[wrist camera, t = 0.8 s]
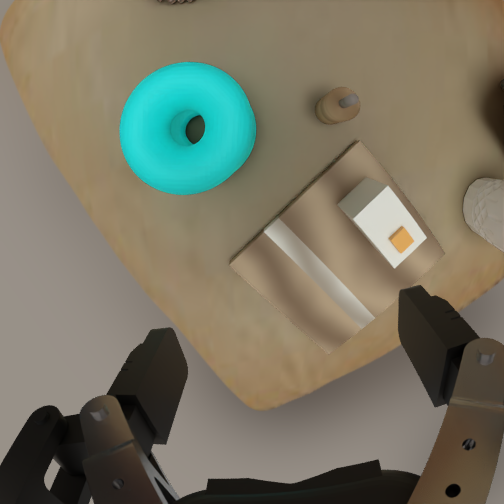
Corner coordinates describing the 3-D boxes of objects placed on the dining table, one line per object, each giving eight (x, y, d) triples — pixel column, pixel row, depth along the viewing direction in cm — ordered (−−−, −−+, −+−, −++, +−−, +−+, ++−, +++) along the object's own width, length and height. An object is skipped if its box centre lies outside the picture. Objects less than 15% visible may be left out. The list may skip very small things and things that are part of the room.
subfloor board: (356, 140, 29) (360, 140, 28) (440, 250, 32) (445, 253, 31) (230, 261, 34) (228, 265, 33) (327, 348, 37) (328, 354, 36)
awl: (328, 91, 28) (352, 72, 19) (348, 112, 28) (379, 101, 20) (309, 109, 28) (325, 96, 20) (329, 130, 29) (353, 125, 20)
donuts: (118, 63, 18) (257, 58, 18) (160, 84, 28) (260, 84, 28) (112, 195, 22) (247, 202, 22) (155, 179, 31) (253, 183, 31)
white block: (366, 177, 29) (390, 186, 23) (401, 220, 30) (429, 239, 24) (336, 204, 30) (354, 220, 24) (373, 246, 31) (396, 271, 25)
